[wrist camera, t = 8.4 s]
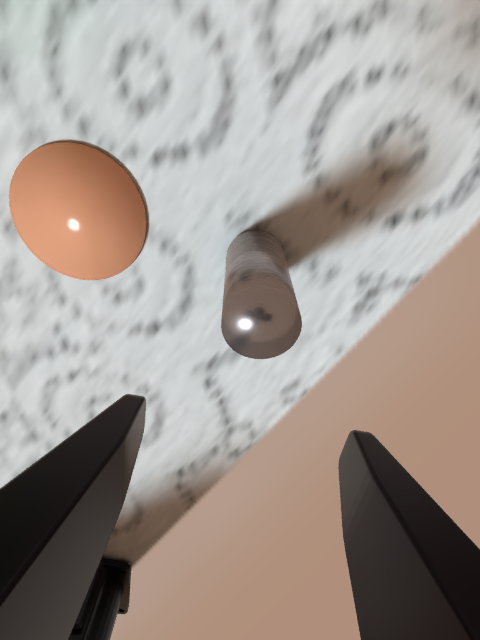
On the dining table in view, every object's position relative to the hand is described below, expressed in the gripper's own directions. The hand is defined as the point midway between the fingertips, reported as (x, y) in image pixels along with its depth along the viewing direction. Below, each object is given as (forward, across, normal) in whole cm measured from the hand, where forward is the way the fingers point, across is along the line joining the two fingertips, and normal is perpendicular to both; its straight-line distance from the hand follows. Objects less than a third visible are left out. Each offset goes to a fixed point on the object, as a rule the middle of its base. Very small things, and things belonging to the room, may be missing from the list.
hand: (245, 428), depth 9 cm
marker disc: (+11, +8, 0) cm, 14 cm away
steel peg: (+11, 0, 0) cm, 11 cm away
